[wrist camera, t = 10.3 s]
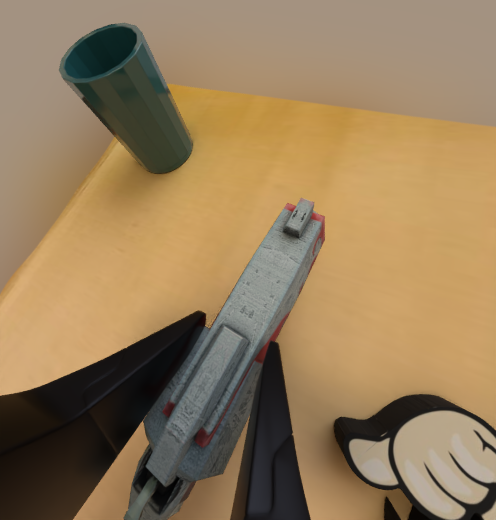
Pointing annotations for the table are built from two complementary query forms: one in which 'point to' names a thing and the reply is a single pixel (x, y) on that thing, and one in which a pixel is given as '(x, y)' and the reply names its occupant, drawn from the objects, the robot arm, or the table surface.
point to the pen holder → (128, 95)
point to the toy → (425, 457)
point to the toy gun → (223, 370)
